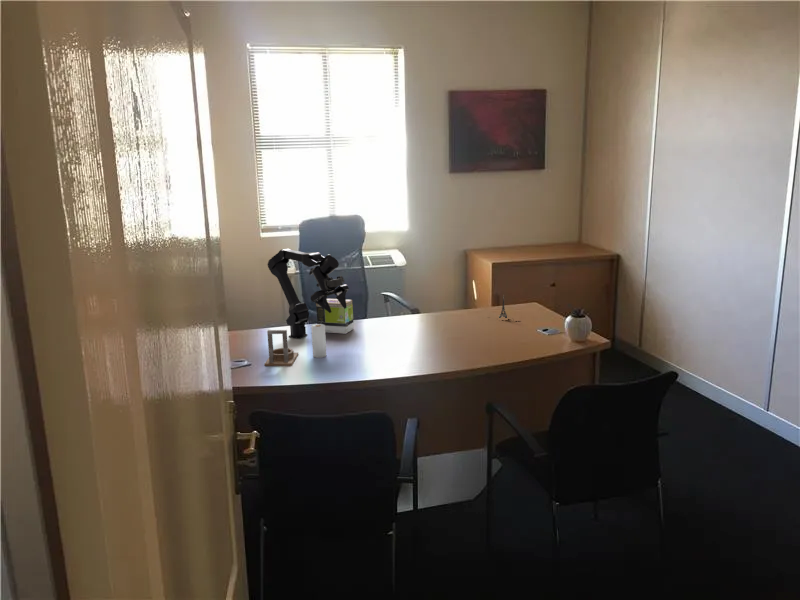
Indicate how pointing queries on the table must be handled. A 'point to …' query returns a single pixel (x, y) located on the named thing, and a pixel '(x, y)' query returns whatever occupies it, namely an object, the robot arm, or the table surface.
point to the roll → (318, 340)
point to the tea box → (336, 316)
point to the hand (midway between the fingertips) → (338, 310)
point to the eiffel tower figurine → (503, 310)
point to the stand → (280, 351)
